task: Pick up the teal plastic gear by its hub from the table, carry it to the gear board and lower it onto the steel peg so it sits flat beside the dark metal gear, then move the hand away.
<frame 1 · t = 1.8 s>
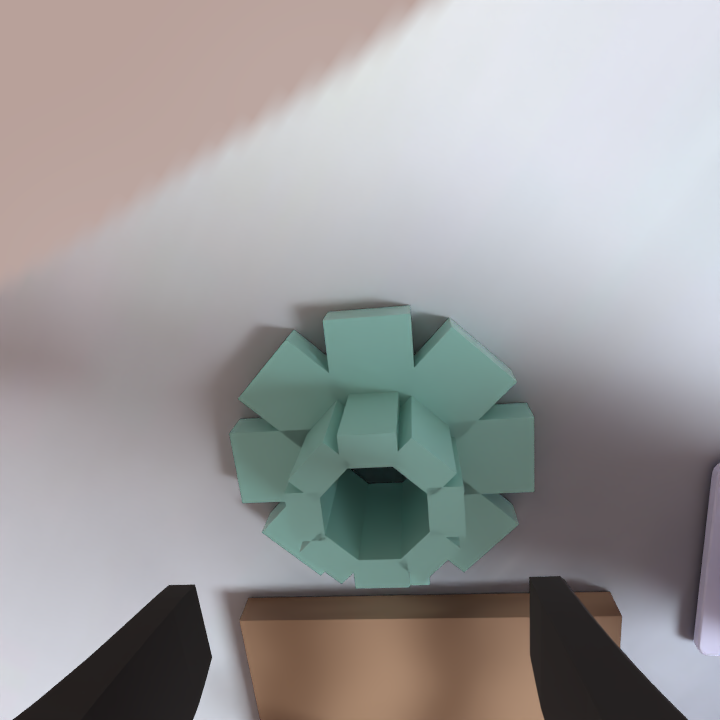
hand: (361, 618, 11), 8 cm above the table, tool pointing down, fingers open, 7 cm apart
teal gear: (382, 446, 19), on the table
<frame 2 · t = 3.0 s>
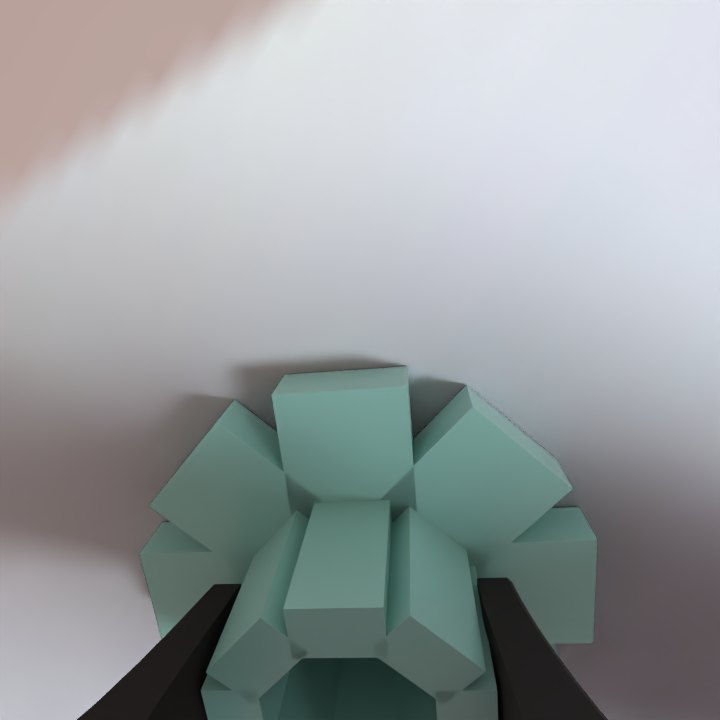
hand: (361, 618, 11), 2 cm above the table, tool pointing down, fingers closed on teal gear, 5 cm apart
teal gear: (367, 562, 13), on the table, touching gripper
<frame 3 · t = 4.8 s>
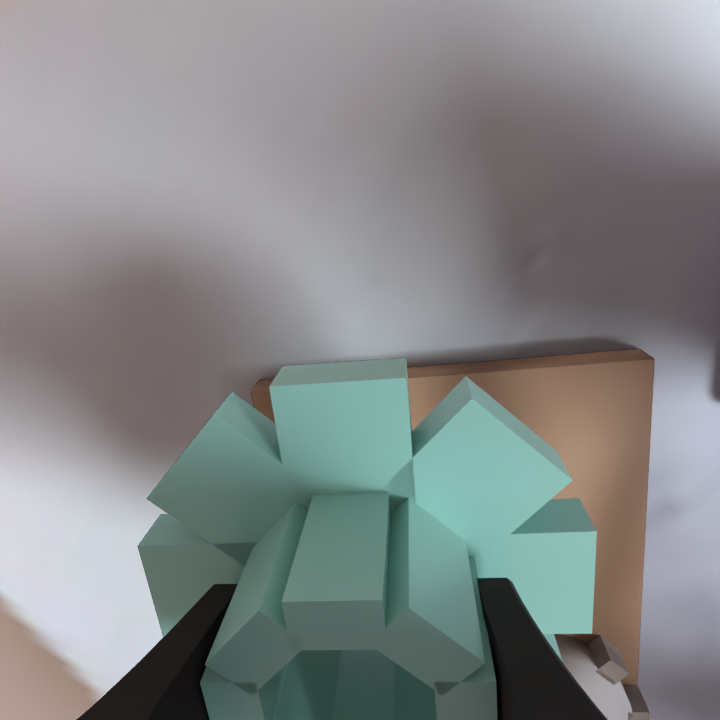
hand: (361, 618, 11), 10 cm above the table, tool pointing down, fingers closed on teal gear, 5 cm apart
teal gear: (366, 553, 13), point 8 cm above the table, touching gripper
gear board: (457, 575, 23), on the table
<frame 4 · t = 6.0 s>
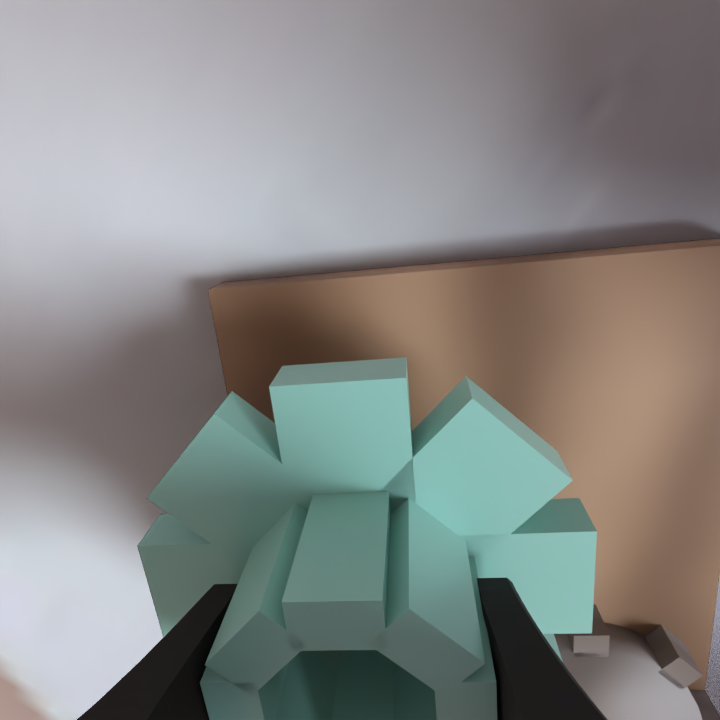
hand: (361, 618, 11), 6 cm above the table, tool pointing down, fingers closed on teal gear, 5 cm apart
teal gear: (366, 553, 13), point 4 cm above the table, touching gripper
gear board: (475, 547, 18), on the table
when the fingers open (4 cm above the table, at t = 6.9 s): teal gear drops 1 cm, resting on gear board.
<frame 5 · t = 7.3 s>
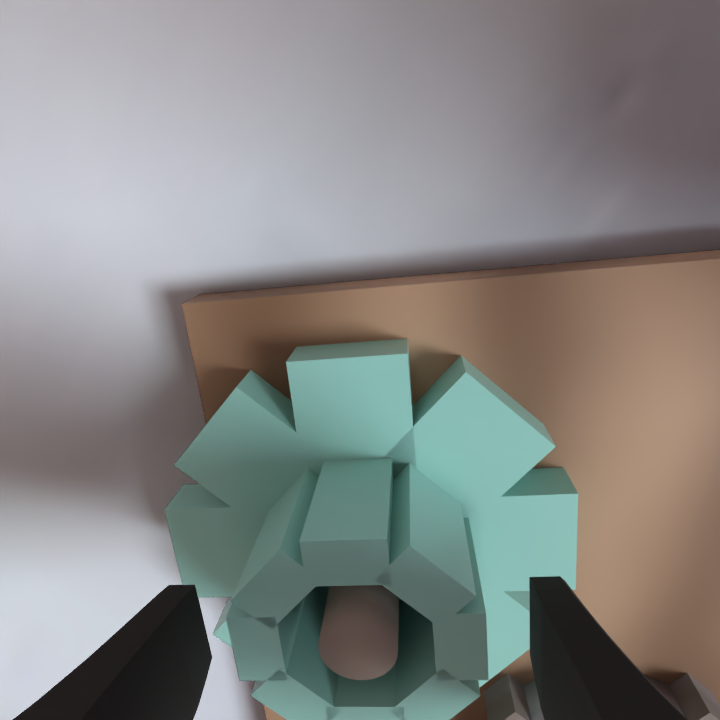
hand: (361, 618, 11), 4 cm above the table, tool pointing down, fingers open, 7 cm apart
teal gear: (370, 520, 14), point 1 cm above the table, touching gear board
gear board: (481, 585, 16), on the table
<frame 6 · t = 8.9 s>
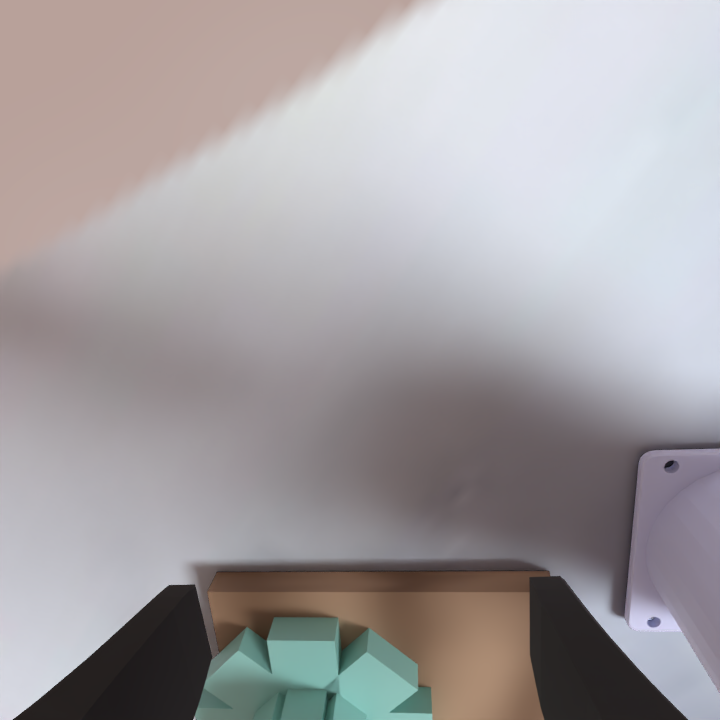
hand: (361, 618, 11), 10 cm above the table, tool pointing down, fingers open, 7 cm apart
teal gear: (317, 708, 24), point 1 cm above the table, touching gear board
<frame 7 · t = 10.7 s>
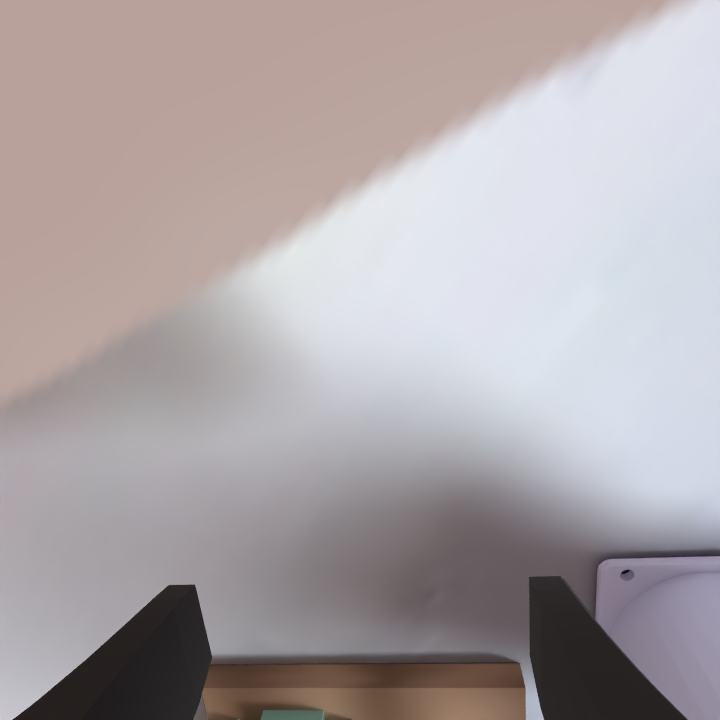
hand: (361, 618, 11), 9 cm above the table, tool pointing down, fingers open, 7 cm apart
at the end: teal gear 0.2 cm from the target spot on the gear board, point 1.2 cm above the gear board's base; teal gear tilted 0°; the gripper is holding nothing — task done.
